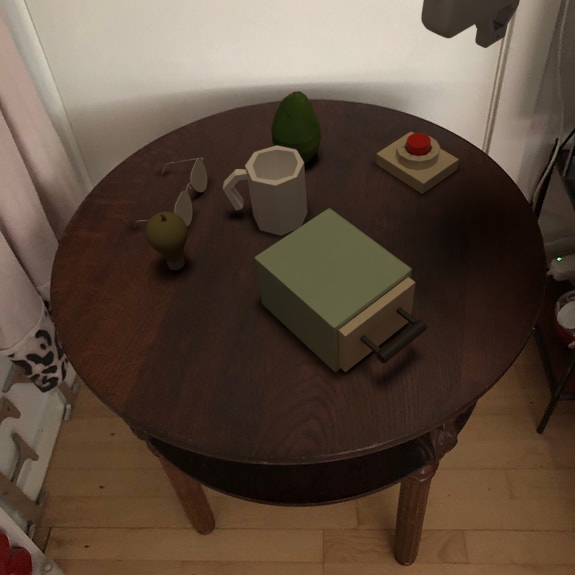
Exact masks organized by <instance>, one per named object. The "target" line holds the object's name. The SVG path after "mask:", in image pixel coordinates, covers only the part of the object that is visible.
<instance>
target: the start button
mask: <svg viewBox="0 0 575 575" xmlns="http://www.w3.org/2000/svg"><path fill="white" fill-rule="evenodd" d="M413 133H414V134H412V135H410V136H409V137H408V138H407V145H406V150H407V152H408V153H409V154H411V155H415V156H423V155H426V154H428V153H429V151H430V144H431V139H430V137H431V136H430V135H428V136H427V134H426V133H422V132H413ZM429 136H430V137H429Z"/></svg>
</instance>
